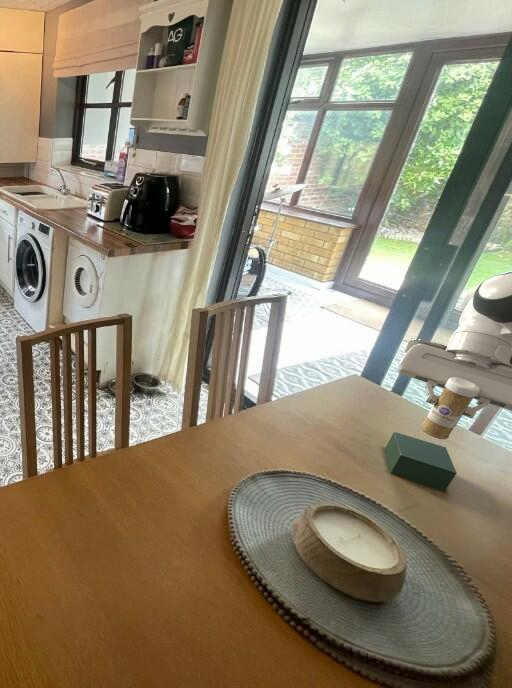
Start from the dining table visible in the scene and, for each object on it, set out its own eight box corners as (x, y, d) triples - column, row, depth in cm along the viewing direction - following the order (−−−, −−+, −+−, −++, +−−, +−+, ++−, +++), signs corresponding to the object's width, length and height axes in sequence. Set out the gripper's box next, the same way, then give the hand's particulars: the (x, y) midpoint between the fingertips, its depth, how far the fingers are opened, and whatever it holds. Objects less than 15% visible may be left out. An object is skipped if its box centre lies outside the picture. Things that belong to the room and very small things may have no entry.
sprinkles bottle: (418, 431, 90) (447, 381, 84) (421, 422, 93) (450, 373, 87) (447, 443, 87) (479, 392, 81) (450, 433, 90) (482, 384, 84)
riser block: (434, 464, 95) (445, 447, 93) (444, 491, 89) (456, 473, 86) (384, 448, 100) (394, 431, 98) (390, 473, 93) (400, 455, 91)
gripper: (413, 330, 93) (387, 382, 91) (555, 369, 79) (527, 431, 77) (407, 341, 97) (383, 390, 96) (541, 379, 84) (515, 438, 82)
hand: (448, 409), depth 86 cm, fingers closed on sprinkles bottle, 4 cm apart
